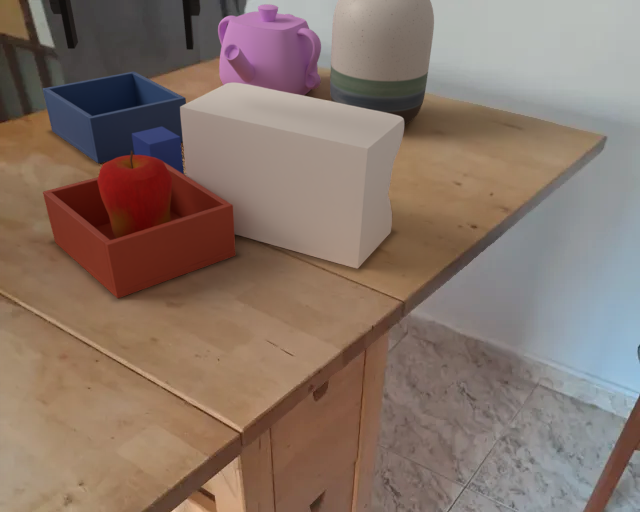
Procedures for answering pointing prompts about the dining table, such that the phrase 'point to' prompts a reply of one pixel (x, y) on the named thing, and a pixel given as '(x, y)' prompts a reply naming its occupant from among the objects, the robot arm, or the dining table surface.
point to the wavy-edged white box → (295, 168)
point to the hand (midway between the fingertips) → (132, 46)
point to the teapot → (269, 51)
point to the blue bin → (111, 113)
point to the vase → (381, 54)
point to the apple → (135, 193)
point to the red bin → (142, 235)
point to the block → (159, 146)
